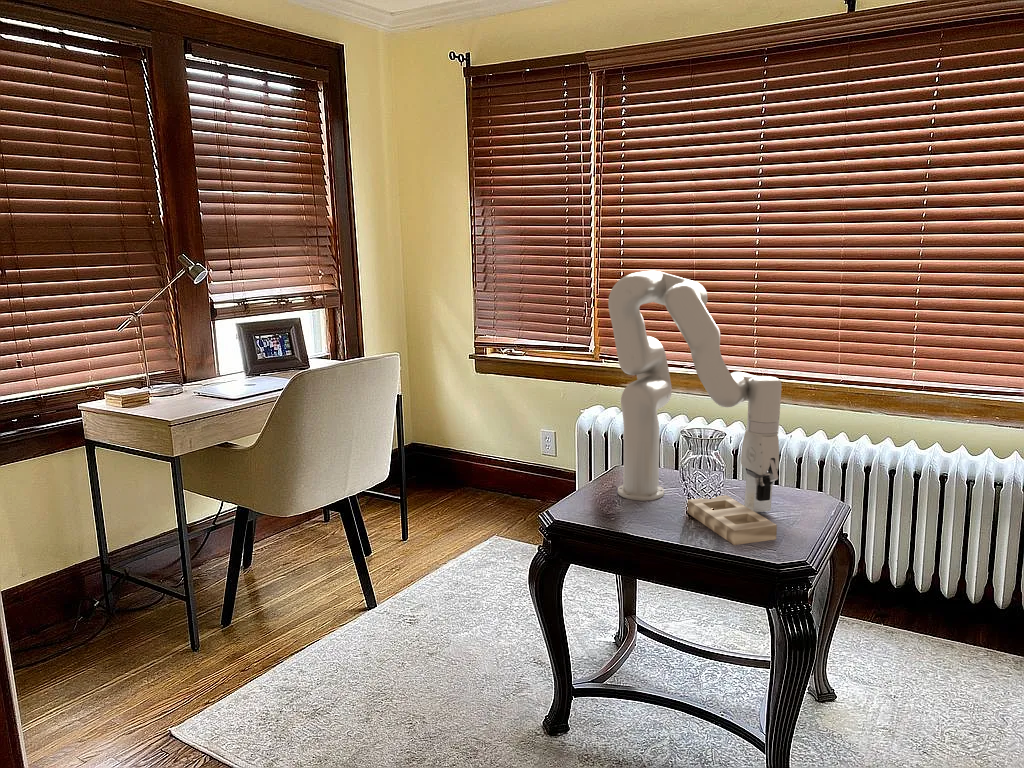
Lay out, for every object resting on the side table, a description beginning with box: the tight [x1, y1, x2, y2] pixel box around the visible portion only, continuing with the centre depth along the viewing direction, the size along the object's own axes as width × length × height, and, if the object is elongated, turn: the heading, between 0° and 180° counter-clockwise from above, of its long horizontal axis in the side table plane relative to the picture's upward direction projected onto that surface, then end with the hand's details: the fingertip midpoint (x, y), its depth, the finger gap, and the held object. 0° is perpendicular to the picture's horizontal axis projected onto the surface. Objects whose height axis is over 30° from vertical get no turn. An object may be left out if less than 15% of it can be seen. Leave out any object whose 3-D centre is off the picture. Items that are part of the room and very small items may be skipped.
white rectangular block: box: [743, 469, 773, 513], centre depth 201 cm, size 4×5×10 cm
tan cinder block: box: [687, 495, 778, 546], centre depth 193 cm, size 22×11×4 cm, turn 16°
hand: (758, 496), depth 201 cm, fingers closed on white rectangular block, 4 cm apart
